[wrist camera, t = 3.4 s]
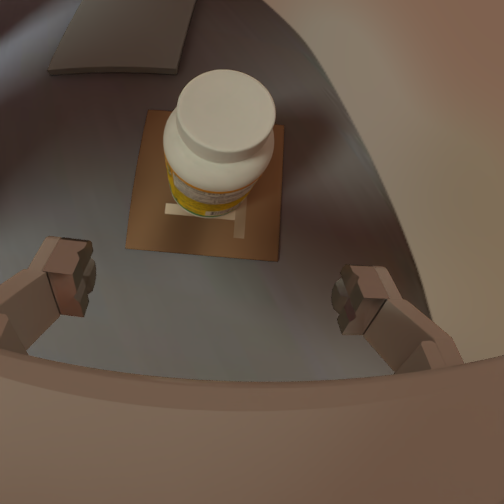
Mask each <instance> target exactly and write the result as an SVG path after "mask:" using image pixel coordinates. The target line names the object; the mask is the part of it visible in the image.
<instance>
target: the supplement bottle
mask: <svg viewBox="0 0 504 504" xmlns="http://www.w3.org/2000/svg"><path fill="white" fill-rule="evenodd" d="M275 119H276V109H275V104H274V101H273V99H272V97H271V95H270V93H269V91H268V90H267V89H266V88H265V87H264V86H263V85H262V84H261V83H260V82H259V81H258V80H256V79H255V78H253V77H251V76H249V75H247V74H245V73H242V72H239V71H234V70H223V69H220V70H213V71H209V72H206V73H203V74H201V75H199V76H197V77H195V78H194V79H192V80H191V81H190V82H189V83H188V84H187V85H186V86H185V87H184V89H183V90H182V92H181V94H180V96H179V98H178V103H177V107H176V108H175V109H174V110H173V112H172V113H171V115H170V116H169V118H168V120H167V123H166V126H165V129H164V135H163V147H164V155H165V162H166V168H167V174H168V181H169V186H170V189H171V193H172V196H173V197H174V199H175V201H176V202H177V204H178V205H179V206H180V207H181V208H182V209H183V210H185V211H186V212H188V213H190V214H192V215H194V216H197V217H201V218H217V217H221V216H224V215H227V214H229V213H231V212H232V211H234V210H235V209H236V208H237V207H239V206H240V204H241V203H242V202H243V201H244V200H245V198H246V196H247V195H248V194H249V192H250V191H251V189H252V188H253V186H254V185H255V184H256V182H257V181H258V179H259V178H260V177H261V175H262V174H263V172H264V171H265V169H266V168H267V166H268V164H269V162H270V160H271V157H272V154H273V150H274V133H273V126H274V123H275Z"/></svg>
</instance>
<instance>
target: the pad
mask: <svg viewBox="0 0 504 504" xmlns="http://www.w3.org/2000/svg"><path fill="white" fill-rule="evenodd" d="M196 1H197V0H83V1H82V2H81V4H80V6H79V7H78V9H77V11H76V13H75V14H74V16H73V18H72V20H71V22H70V24H69V25H68V27H67V29H66V31H65V33H64V35H63V37H62V39H61V41H60V43H59V45H58V47H57V49H56V51H55V54H54V56H53V58H52V60H51V62H50V65H49V67H48V69H47V71H48V72H49V74H50V75H59V74H74V73H104V72H127V73H157V74H174V75H177V71H178V67H179V62H180V58H181V54H182V50H183V47H184V43H185V39H186V35H187V32H188V28H189V24H190V21H191V17H192V14H193V10H194V7H195V4H196Z"/></svg>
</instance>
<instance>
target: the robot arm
mask: <svg viewBox="0 0 504 504" xmlns="http://www.w3.org/2000/svg"><path fill="white" fill-rule="evenodd" d="M92 253H93V247H92V242H91V241H89V240H81V239H73V238H65V237H62V238H61V237H54V236H48V237H46V238H45V240H44V242H43V243H42V245H41V247H40V248H39V250H38V252H37V253H36V255H35V257H34V259H33V260H32V262H31V264H30V266H29V268H28V269H23V270H22V271H20V272H19V273H17V274H16V275H14V276H13V277H11V278H10V279H8V280H7V281H5V282H4V283H2V284H1V285H0V504H504V355H502V356H498V357H494V358H490V359H485V360H480V361H475V362H470V363H465V364H464V362H463V360H462V358H461V356H460V353H459V351H458V349H457V347H456V345H455V343H454V341H453V339H452V338H451V337H450V336H449V335H448V334H447V333H446V332H444V331H443V330H442V329H441V328H440V327H438V326H437V325H436V324H435V323H434V322H433V321H431V320H430V319H429V318H428V317H427V316H425V315H424V314H423V313H422V312H421V311H419V310H418V309H417V308H416V307H414V306H413V305H412V304H411V303H410V302H408V301H407V300H403V299H402V297H401V295H400V293H399V291H398V289H397V287H396V285H395V283H394V281H393V280H392V278H391V276H390V274H389V272H388V270H387V269H386V268H385V267H383V266H363V265H351V264H345V265H344V266H343V268H342V270H341V272H340V274H341V277H342V278H341V279H339V280H338V281H337V282H335V284H334V287H333V289H332V295H331V301H332V306H333V309H334V310H335V311H336V312H337V313H338V314H339V316H338V318H337V321H338V324H339V328H340V331H341V334H342V335H363V337H364V338H365V339H366V340H367V341H368V342H369V343H370V345H371V346H372V347H373V348H374V349H375V350H376V351H377V353H378V354H379V355H380V356H381V357H382V358H383V359H384V361H385V362H386V363H387V364H388V365H389V366H390V368H391V369H392V370H393V371H394V372H395V373H394V374H393V375H385V376H375V377H364V378H352V379H338V380H320V381H292V382H241V381H213V380H196V379H181V378H169V377H158V376H149V375H140V374H131V373H123V372H116V371H109V370H102V369H96V368H89V367H83V366H78V365H72V364H67V363H62V362H56V361H52V360H47V359H42V358H38V357H33V356H29V355H28V353H27V351H26V350H27V349H28V348H29V347H30V346H31V345H32V344H33V343H34V342H35V341H36V340H37V339H38V338H39V337H40V336H41V335H42V334H43V333H44V332H45V331H46V330H47V329H48V328H49V327H50V326H51V325H52V324H53V323H54V322H55V321H56V320H57V319H58V318H59V317H60V315H68V316H76V317H84V316H85V313H86V309H87V306H88V303H89V299H88V294H89V293H90V292H92V291H93V288H94V285H95V280H96V265H95V261H94V260H93V259H92V258H91V255H92Z"/></svg>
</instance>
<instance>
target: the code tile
mask: <svg viewBox="0 0 504 504" xmlns="http://www.w3.org/2000/svg"><path fill="white" fill-rule="evenodd" d="M172 112H173V111H161V110H148V113H147V117H146V122H145V126H144V131H143V136H142V141H141V146H140V151H139V157H138V162H137V168H136V173H135V179H134V186H133V192H132V199H131V206H130V213H129V221H128V229H127V238H126V247H125V248H126V249H137V250H148V251H159V252H170V253H182V254H193V255H205V256H216V257H228V258H240V259H252V260H264V261H276V262H278V247H279V229H280V210H281V190H282V169H283V145H284V126H283V125H277V124H274V126H273V133H274V150H273V154H272V157H271V160H270V162H269V164H268V166H267V168H266V169H265V171H264V172H263V174H262V175H261V177H260V178H259V179H258V181H257V182H256V184H255V185H254V186H253V188H252V189H251V191H250V192H249V194H248V195H247V196H246V198H245V200H244V201H243V202H242V203H241V204H240V206H239V207H237V208H236V209H235V210H234V211H232V212H231V213H229V214H227V215H224V216H221V217H217V218H201V217H197V216H194V215H192V214H190V213H188V212H186V211H185V210H183V209H182V208H181V207H180V206H179V205H178V204H177V202H176V201H175V199H174V197H173V196H172V193H171V189H170V186H169V181H168V174H167V168H166V162H165V155H164V147H163V135H164V129H165V126H166V123H167V120H168V118H169V116H170V115H171V113H172Z"/></svg>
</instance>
